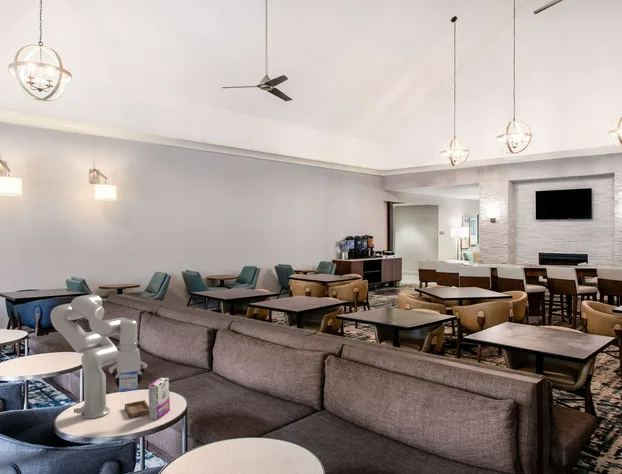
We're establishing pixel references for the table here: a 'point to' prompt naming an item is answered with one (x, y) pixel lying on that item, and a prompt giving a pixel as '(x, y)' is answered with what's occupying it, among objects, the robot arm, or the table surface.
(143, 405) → the walnut tray
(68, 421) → the table surface
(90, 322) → the robot arm
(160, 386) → the candy bar box
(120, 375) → the medicine box
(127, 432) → the table surface
